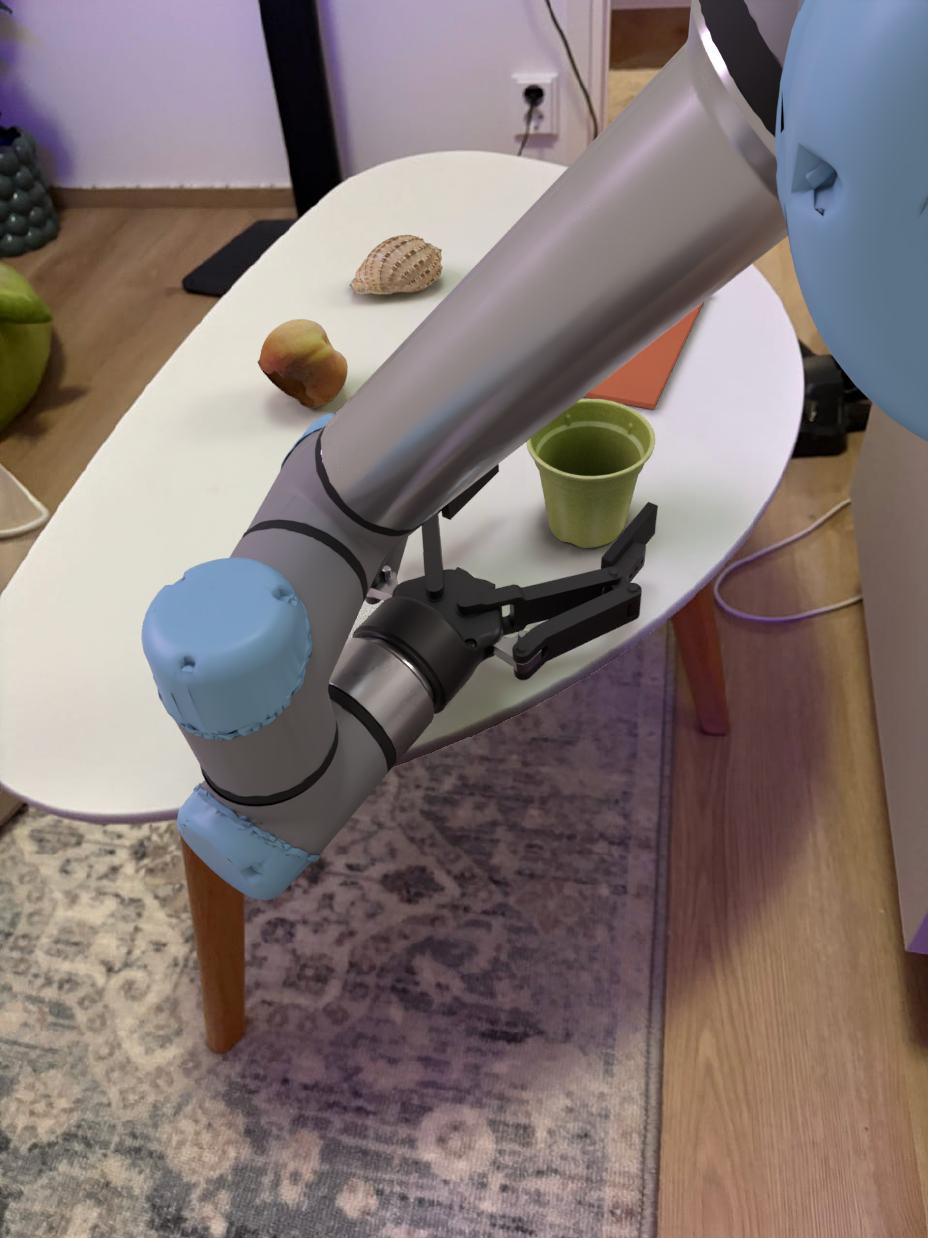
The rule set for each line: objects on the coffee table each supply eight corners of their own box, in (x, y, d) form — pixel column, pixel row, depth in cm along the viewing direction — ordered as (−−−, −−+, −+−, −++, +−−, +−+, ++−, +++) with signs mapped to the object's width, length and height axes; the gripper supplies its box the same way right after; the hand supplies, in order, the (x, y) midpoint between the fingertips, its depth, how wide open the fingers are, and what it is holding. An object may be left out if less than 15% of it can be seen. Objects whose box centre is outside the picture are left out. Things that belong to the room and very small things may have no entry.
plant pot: (616, 472, 79) (621, 385, 73) (667, 544, 73) (677, 457, 67) (512, 502, 78) (508, 416, 71) (555, 578, 72) (554, 491, 65)
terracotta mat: (706, 296, 96) (706, 291, 96) (653, 409, 85) (653, 404, 84) (523, 271, 102) (523, 266, 102) (450, 373, 91) (450, 367, 90)
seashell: (397, 336, 101) (461, 269, 101) (369, 299, 96) (437, 228, 96) (358, 308, 105) (420, 244, 105) (330, 271, 100) (395, 203, 100)
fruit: (343, 427, 86) (327, 351, 80) (258, 423, 88) (236, 348, 82) (363, 379, 91) (349, 304, 85) (282, 376, 93) (263, 302, 87)
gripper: (264, 635, 67) (440, 470, 78) (561, 803, 56) (718, 584, 67) (237, 561, 62) (431, 394, 72) (562, 732, 51) (733, 505, 61)
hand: (569, 485), depth 70 cm, fingers open, 13 cm apart
